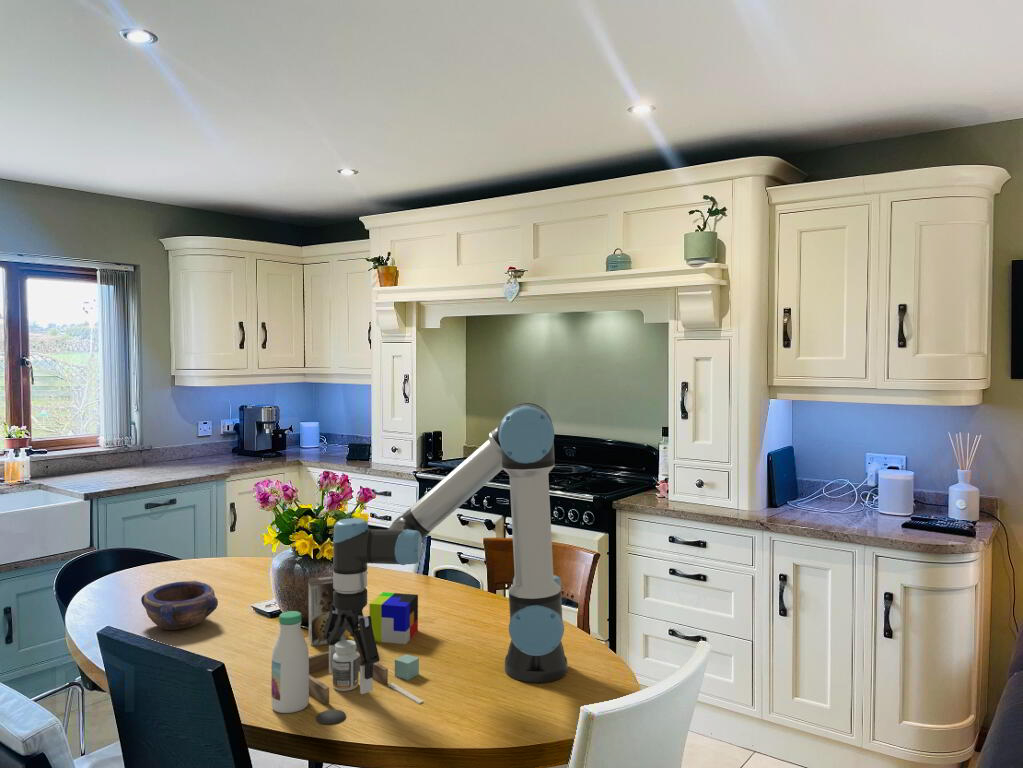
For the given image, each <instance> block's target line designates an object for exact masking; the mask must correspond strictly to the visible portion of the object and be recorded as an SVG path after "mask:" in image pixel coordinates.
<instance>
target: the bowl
mask: <svg viewBox="0 0 1023 768" xmlns="http://www.w3.org/2000/svg"><path fill="white" fill-rule="evenodd" d="M140 601H141V604H142V606H143V607H144V609H145V611H146V615H147V617H148V618H149V619H150V620H151V621H152V623H154V625H156V626H158V627H160V628H162V629H163V630H170V631H171V630H172V631H173V630H182V629H186V628H191V627H194V626H196V625H198V624H199V623H201V622H203V621H204V620H206V619H207V618H208V617H209V616H210V615H211V614H212V613H213V612H214V611H215V610H217V607H218V605H219V600H218V598H217V597H216V595H215V590H214V589H213V587H212V586H211V585H209V584H207V583H205V582H201V581H198V580H188V581H187V580H186V581H185V580H184V581H175V582H170V583H165V584H161V585H159V586H157V587H154V588H152V589H150V590H148V591H147V592H146V593H144V594H143V595H141V598H140Z"/></svg>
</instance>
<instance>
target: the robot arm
mask: <svg viewBox="0 0 1023 768" xmlns="http://www.w3.org/2000/svg"><path fill="white" fill-rule="evenodd" d="M554 439H555V427H554V424H553V421H552V418H551V416H550V414H549V413H548V412H547V410H545V408H543V407H542V406H540V405H538V404H537V403H533V402H524V403H519V404H517V405H515V406H513V407H512V408H511V409H509V410H508V412H507V413H506V414H505V415H504V416H503V418H502V419H501V421H500V422H499V423H498V424H497V425H496V427H495V428H494V429H492V430H491V431H490V432H489V433H488V439H486V441H485V442H484V443H483V444H482V445H480V446H479V447H478V448H477V449H475V450H474V451H473V453H471V454H470V455H469V456H468V457H467V458H466V459H465V460H463V461H462V462H461V463H459V465H457V466H456V467H455V468H454V469H453V470H451V472H449V473H448V474H447V475H446V476H445V477H443V479H441V481H439V482H438V483H437V484H436V485H434V486H433V487H432V488H431V489H430V490H429V491H428V492H427V493H425V495H423V496H422V497H421V498H420V499H419V500H417V502H416V503H414V504H413V505H411V507H410V508H408V509H407V510H406V511H405V512H404V513H402V514H401V515H399V516H398V517H397V518H396V519H394V521H393V522H392V523H391V525H390V526H389V527H388V528H387V529H373V528H369V526H368V521H367V520H365V519H363V518H358V517H357V518H356V517H351V518H349V517H348V518H344V519H339V520H337V522H335V524H334V526H333V536H332V537H333V539H332V549H333V551H332V554H333V556H332V557H333V559H332V561H333V567H332V568H333V570H332V574H333V575H332V576H333V588H334V589H335V590H334V591H333V604H331V605H330V614H329V617H328V621H327V624H326V627H325V631H324V634H323V638H324V640H325V639H327V644H326V645H328V651H329V667H328V674H329V675H333V655H334V654H335V653H336V651H335V644H336V643H337V642H339V641H340V640H341V639H340V638H341V636H342V635H343V633H344V631H345V630H346V632H349V635H350V637H352V638H353V641H355V643H356V649H357V652H359V654H360V657H361V660H362V663H361V664H360V671H359V694H361V695H364V694H367V693H369V692H370V693H371V692H372V691H373V688H374V686H373V682H374V681H373V680H374V679H373V663H376V662H377V663H378V662H380V654H379V650H378V647H377V642H376V641H375V638H374V633H373V629H372V620H371V616H369V615H368V616H364V613H363V609H365V607H367V605H368V589H367V587H368V573H369V572H368V564H377V565H378V564H379V565H401V566H406V565H416V564H418V563H419V562H420V560H421V556H422V552H423V551H422V549H423V539H424V538H426V536H428V535H429V534H430V533H431V532H432V531H433V530H434V529H436V527H438V526H439V525H440V524H441V523H442V522H444V521H445V520H446V519H447V518H448V517H449V516H451V515H452V514H453V513H454V512H455V511H456V510H458V509H459V508H460V507H461V506H462V505H463V504H465V503H466V502H467V501H468V500H469V499H470V498H471V497H473V496H474V495H475V494H476V493H477V492H478V491H480V489H482V488H483V487H484V486H485V485H486V484H487V483H489V482H490V481H491V480H492V479H494V478H495V476H497V475H498V474H499V473H500V472H501V471H505V473H507V475H508V476H509V489H510V490H509V492H510V510H511V512H510V513H511V529H512V530H511V531H512V532H511V533H512V546H513V547H512V548H513V549H512V551H513V565H514V567H513V568H514V569H513V570H514V571H513V572H514V577H513V579H512V585H511V586H510V587H509V588H508V602H509V603H508V604H509V624H508V634H509V636H510V644H509V647H508V650H507V654H506V656H505V658H504V672H505V673H506V674H507V676H509V677H510V678H512V679H515V680H518V681H520V682H521V681H522V682H525V683H549V682H555V681H556V680H559V679H562V678H563V677H565V676H566V675H567V673H568V660H567V656H566V654H565V649H564V645H563V642H562V640H563V636H564V633H565V625H564V622H563V604H562V603H563V601H562V589H563V586H562V579H561V578H560V577H559V576H558V575H556V574H555V575H554V565H553V564H554V562H553V559H554V557H553V540H552V539H553V538H552V523H551V501H550V498H551V497H550V482H549V480H550V479H549V477H550V476H549V474H550V472H551V471H552V470H553V468H555V466H556V464H555V463H556V462H555V459H556V458H555V444H554V441H555V440H554ZM329 632H331V633H329Z"/></svg>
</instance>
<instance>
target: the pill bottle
mask: <svg viewBox="0 0 1023 768" xmlns="http://www.w3.org/2000/svg"><path fill="white" fill-rule="evenodd" d="M356 650H357V646H356V643H355V640H350V639H346V640H343V641H339V642H337V643H336V644H335V651H336V653H335V654H334V655H333V674H332V687H333V688H334V690H335V691H338V692H348V691H353V690H354V689H356V688H358V685H359V680H360V671H359V666H358V665H359V656H358V653H357V652H358V651H357V652H356Z"/></svg>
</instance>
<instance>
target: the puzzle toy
mask: <svg viewBox="0 0 1023 768" xmlns="http://www.w3.org/2000/svg"><path fill="white" fill-rule="evenodd" d="M368 609H369V613H368V614H369V615H368V616H371V620H372V629H373V633H374V638H375V642H376V641H377V642H378V643H388V644H389V643H390V644H399V645H406V644H407V643H408V642H409V641H410V640H411V639H412V638H413V637H414V635H415V634H416V633H417V632H418V631H419V594H411V593H401V592H400V593H399V592H389V591H388V592H387V591H384V592H382V593H380V594H379V595H378V596H377V597H376V598H375V599H373V600H372V601H371V602H370V603H369V607H368ZM377 642H376V643H377Z"/></svg>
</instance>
